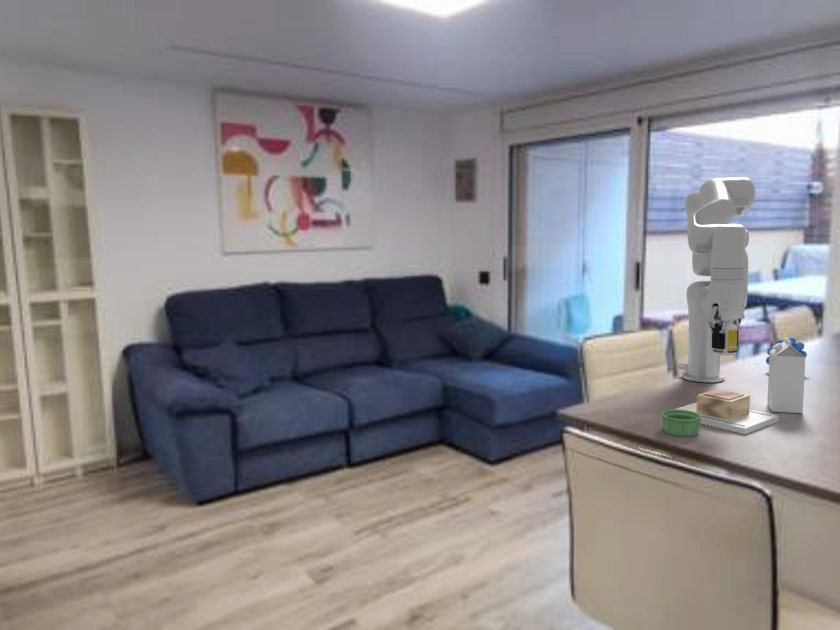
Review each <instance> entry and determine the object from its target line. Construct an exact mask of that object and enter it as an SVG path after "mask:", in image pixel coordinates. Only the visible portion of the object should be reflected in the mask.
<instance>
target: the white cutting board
mask: <svg viewBox="0 0 840 630" xmlns="http://www.w3.org/2000/svg"><path fill="white" fill-rule="evenodd" d="M675 409H680V410H688V411H693V412H696V409H697V401H696V402H692V403H689V404H687V405H683V406H681V407H677V408H675ZM699 414H700V413H699ZM700 415H701V416H702V418H701V420H700V423H701V424H700V425H703V424H705V425H704V426H707V425H709V426H708V427H711V426H713V428H716V427H717V428H716V429H720V428H721V430H724V429H725V430H724V431H728V430H730V431H729V432H732V431H733V432H734V433H736V432H737V433H736V434H741V435H745V434H746V435H748V434H750V432H751V433H753V432H755V430H756V431H757V430H760V429H763V428H765V427H768V426H771V425H773V424H775V423H778V422H779V415H776V414H772V413H767V412H763V411H757V410H752V409H749V414H747V415H744V416H741V417H739V418H736V419H733V420H726V419H722V418H717V417H713V416H709V415H704V414H700ZM733 432H732V433H733Z"/></svg>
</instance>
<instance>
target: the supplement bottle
mask: <svg viewBox="0 0 840 630" xmlns="http://www.w3.org/2000/svg"><path fill="white" fill-rule="evenodd" d="M717 320H721V318H717ZM733 322H734V320H731V321H727V322H726V324H725V329H724V333H725V349H716V348H713V353H714V354H717V355H720V356H725V357H726V356H735V355H736V354H738V353H737V352H738V347H737V326H736V325H735V324H733ZM718 324H719V326H721V323H718Z"/></svg>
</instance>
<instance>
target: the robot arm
mask: <svg viewBox="0 0 840 630" xmlns="http://www.w3.org/2000/svg"><path fill="white" fill-rule="evenodd" d="M755 198H756V187H755V184H754V182H753V181H752V180H751V179H750V178H748V177H745V176H743V177H739V176H738V177H724V178H722V177H719V178H712V179H708V180H707V181H705V182H704V183H702V185H700V187H699V191H698V190H697V191H694V192H690V193H689V194H688V195H687V196H686V198H685V203H684V205H685V208H684V209H685V213H686V217H687V221H688V222H687V227H686V235H687V243H688V247H689V250H690V251H691V252H692V253H691V254H692V256H691V257H692V259H691V260H692V261H691V262H692V263H691V265H692V271H693V273H694V275H696V276H698V277H707V278H708V277H709V278H710V280H699V281H693V282H692V283H690V284H689V285H688V286H687V289H686V303H687V310H688V338H687V339H688V342H687V343H688V344H687V345H688V346H687V362H681V361H679V362H678V364H677V369H678V370H683V371H684V372H683V373H682V375H681V376H682V378H683V379H684V380H687V381H691V382H697V383H707V384H708V383H709V384H710V383H712V384H713V383H720V382H724V381H725V380H726V377H725V375H724V374H722V373H720V372H721V371H720V370H721V355H717V354H714V353H713V348H716V349H725V333H724V329H725V324H726V322H727V321H731V320H734V322H733V324H735V325H736V326H737V346H739V331H740V330H741V329H740V328H741V325H740V324H742V323H741V322H742V320H743V318H744V316H745V315H744V310H745V308H746V307H747V304H748V296H749V295H748V291H749V290H748V289H749V256H748V252H747V251H746V248H747V247H748V245H749V243H750V242H749V241H750V234H749V231H748V230H747V228H746V226H744V225H742V224H738V223H730V222H731V221H732V220H733V219H734V218H742V217H745V216H746V215H747V214H748V212H749V211H750V209H751V208H752V207H753V204H754V202H755ZM729 223H730V224H729ZM717 318H721V320H717ZM718 323H721V326H719V324H718Z"/></svg>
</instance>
